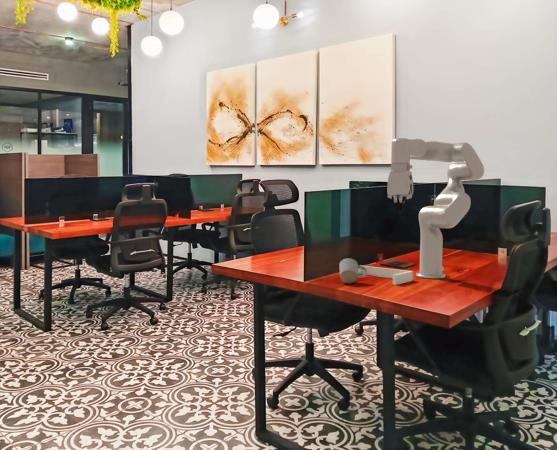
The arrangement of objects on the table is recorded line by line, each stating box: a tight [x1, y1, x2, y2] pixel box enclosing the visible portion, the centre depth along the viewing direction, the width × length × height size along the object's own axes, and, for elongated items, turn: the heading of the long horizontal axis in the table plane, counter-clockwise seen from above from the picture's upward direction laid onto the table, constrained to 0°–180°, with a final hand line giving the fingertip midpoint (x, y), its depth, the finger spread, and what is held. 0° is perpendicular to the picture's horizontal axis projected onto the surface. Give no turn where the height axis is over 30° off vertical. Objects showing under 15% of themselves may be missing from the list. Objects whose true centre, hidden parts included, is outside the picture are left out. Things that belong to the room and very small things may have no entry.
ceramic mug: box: [338, 258, 367, 284], centre depth 208 cm, size 11×8×8 cm
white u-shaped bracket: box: [358, 264, 414, 286], centre depth 219 cm, size 16×26×4 cm, turn 49°
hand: (399, 212), depth 213 cm, fingers closed
